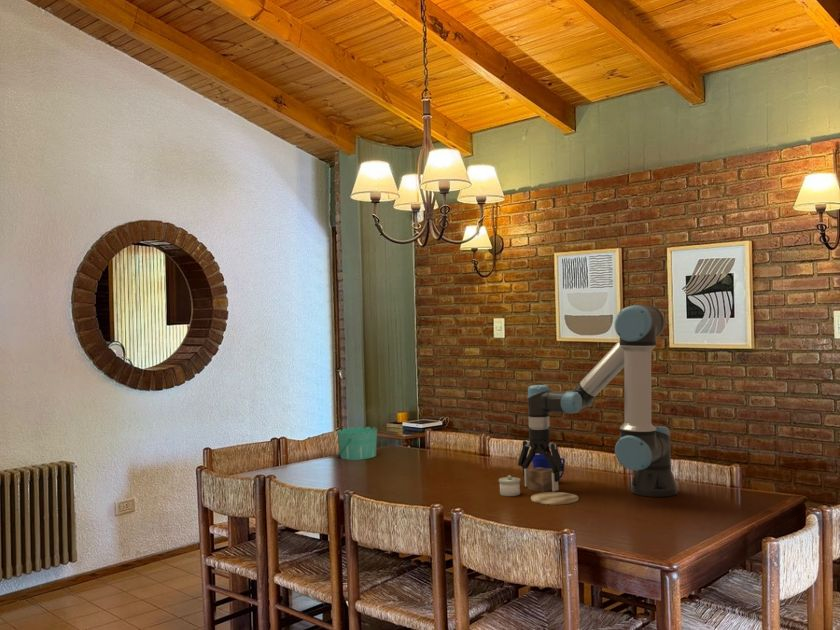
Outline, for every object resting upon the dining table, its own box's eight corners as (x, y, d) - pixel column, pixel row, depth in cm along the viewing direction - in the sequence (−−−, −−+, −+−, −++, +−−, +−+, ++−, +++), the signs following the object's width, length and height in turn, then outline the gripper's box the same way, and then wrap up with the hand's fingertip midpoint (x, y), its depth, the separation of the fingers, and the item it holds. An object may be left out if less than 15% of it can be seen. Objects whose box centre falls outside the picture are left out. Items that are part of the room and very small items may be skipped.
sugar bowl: (525, 493, 263) (524, 474, 263) (511, 497, 258) (511, 478, 258) (508, 490, 268) (507, 472, 269) (494, 494, 263) (494, 475, 263)
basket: (361, 461, 337) (360, 433, 337) (329, 458, 347) (329, 431, 347) (385, 454, 353) (384, 427, 353) (355, 452, 363) (354, 425, 363)
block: (555, 488, 269) (554, 469, 269) (543, 492, 264) (542, 472, 264) (539, 486, 274) (538, 467, 274) (527, 489, 269) (527, 470, 269)
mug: (565, 485, 274) (564, 458, 274) (532, 485, 276) (531, 457, 276) (565, 480, 282) (564, 454, 282) (533, 480, 284) (532, 454, 284)
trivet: (588, 498, 253) (588, 496, 253) (560, 507, 242) (560, 505, 242) (549, 491, 264) (549, 489, 264) (521, 500, 253) (521, 498, 253)
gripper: (573, 429, 264) (575, 490, 263) (519, 424, 281) (521, 482, 280) (560, 431, 258) (562, 494, 258) (507, 426, 276) (509, 485, 275)
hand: (541, 488), depth 269 cm, fingers open, 11 cm apart
